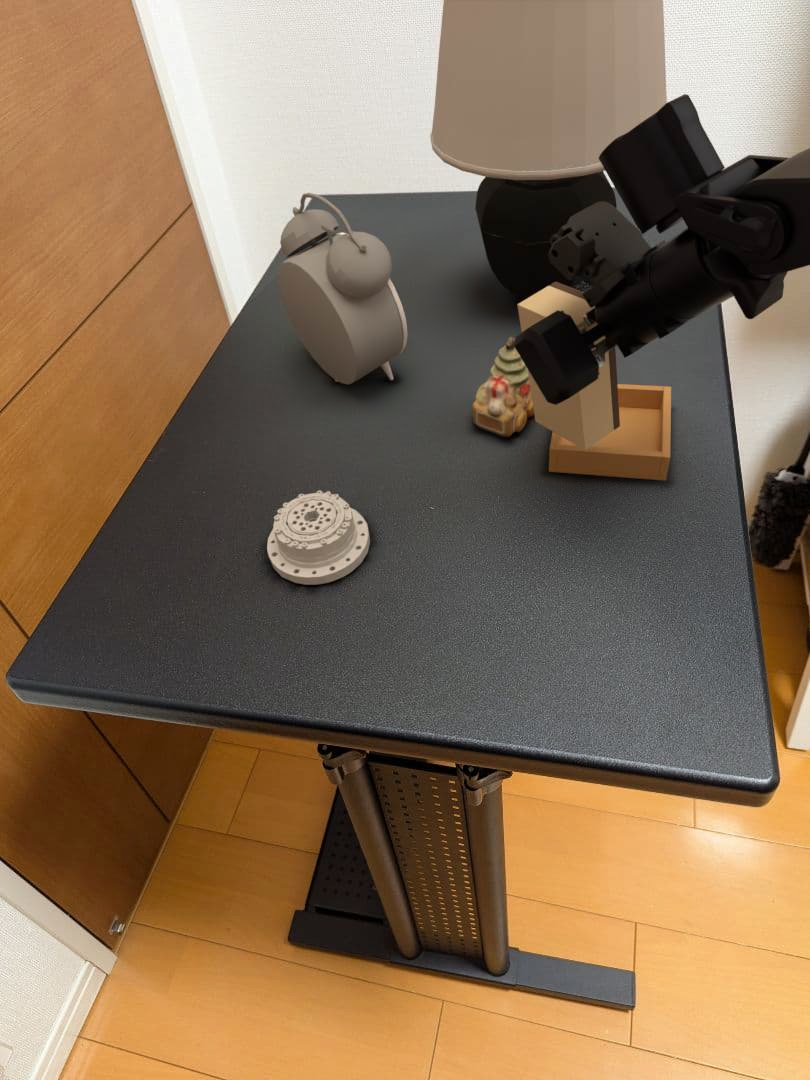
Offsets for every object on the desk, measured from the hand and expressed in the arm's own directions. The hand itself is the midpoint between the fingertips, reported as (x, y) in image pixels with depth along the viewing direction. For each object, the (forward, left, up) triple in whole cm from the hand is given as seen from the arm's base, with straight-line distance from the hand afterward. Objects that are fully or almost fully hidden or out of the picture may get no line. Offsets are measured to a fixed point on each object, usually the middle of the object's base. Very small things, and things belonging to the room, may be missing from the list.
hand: (559, 355), depth 70 cm
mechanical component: (+21, +15, -14) cm, 29 cm away
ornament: (+6, -7, -14) cm, 17 cm away
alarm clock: (+26, -14, -14) cm, 33 cm away
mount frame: (-5, -5, -13) cm, 15 cm away
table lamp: (+5, -34, -14) cm, 37 cm away
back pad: (-2, +1, -7) cm, 7 cm away
